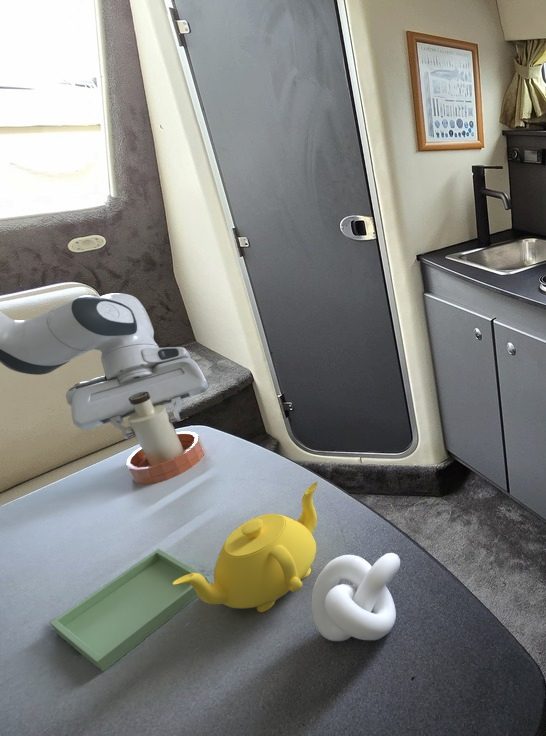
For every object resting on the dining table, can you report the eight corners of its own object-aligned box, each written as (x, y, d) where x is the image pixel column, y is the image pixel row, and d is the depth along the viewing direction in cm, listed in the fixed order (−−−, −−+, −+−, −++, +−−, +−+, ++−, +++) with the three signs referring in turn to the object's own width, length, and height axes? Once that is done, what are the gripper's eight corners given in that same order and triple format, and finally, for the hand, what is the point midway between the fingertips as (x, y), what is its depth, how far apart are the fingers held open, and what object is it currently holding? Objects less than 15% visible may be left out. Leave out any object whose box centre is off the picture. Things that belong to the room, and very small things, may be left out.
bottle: (147, 471, 100) (113, 400, 93) (178, 453, 104) (147, 385, 98) (162, 478, 98) (128, 407, 91) (194, 460, 102) (163, 391, 96)
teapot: (234, 670, 64) (204, 610, 60) (178, 619, 71) (148, 562, 67) (365, 551, 81) (349, 497, 76) (310, 519, 87) (292, 468, 83)
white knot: (420, 632, 68) (408, 586, 65) (323, 685, 62) (304, 638, 59) (402, 570, 77) (391, 528, 74) (316, 612, 71) (299, 568, 68)
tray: (56, 632, 70) (49, 623, 69) (163, 557, 81) (158, 548, 80) (103, 672, 65) (96, 662, 64) (211, 586, 76) (206, 576, 75)
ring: (123, 480, 99) (113, 460, 97) (187, 445, 108) (179, 426, 107) (154, 496, 94) (144, 476, 92) (218, 458, 104) (211, 438, 102)
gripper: (56, 382, 92) (73, 449, 88) (193, 344, 104) (213, 403, 101) (70, 392, 97) (86, 457, 93) (199, 355, 109) (218, 411, 105)
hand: (153, 428), depth 97 cm, fingers closed on bottle, 5 cm apart
